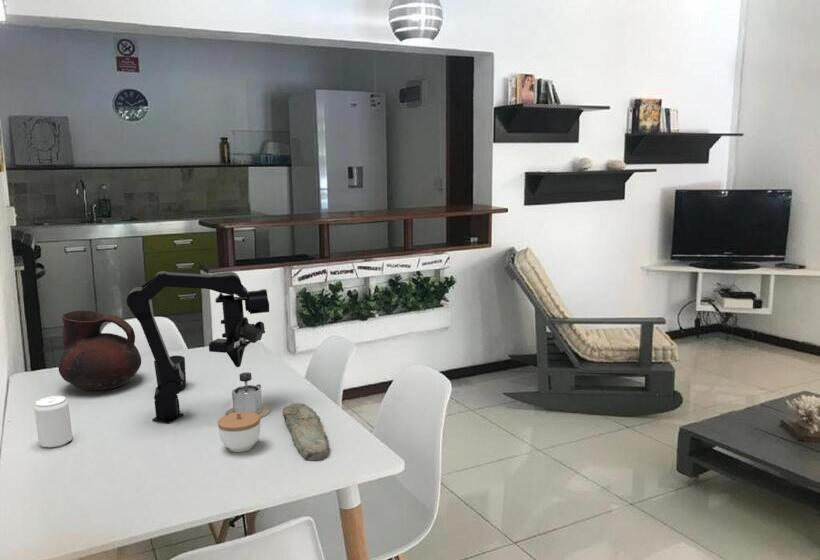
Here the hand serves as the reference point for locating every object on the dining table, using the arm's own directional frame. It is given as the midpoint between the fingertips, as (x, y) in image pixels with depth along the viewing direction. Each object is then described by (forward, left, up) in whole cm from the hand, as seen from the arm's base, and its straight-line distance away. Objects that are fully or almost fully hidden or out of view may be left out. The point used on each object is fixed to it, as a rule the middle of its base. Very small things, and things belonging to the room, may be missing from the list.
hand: (238, 366), depth 202 cm
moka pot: (-2, -3, -13) cm, 14 cm away
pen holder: (+8, +33, -14) cm, 36 cm away
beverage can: (-36, +35, -14) cm, 51 cm away
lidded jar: (-23, -15, -14) cm, 31 cm away
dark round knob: (-2, -3, -7) cm, 8 cm away
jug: (+4, +58, -14) cm, 59 cm away
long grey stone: (-10, -28, -14) cm, 32 cm away
